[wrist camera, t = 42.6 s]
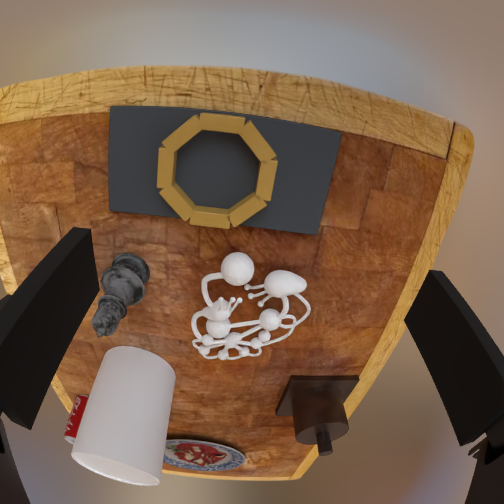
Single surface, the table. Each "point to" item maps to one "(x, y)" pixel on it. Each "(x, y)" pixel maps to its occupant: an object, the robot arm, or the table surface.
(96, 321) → the chess bishop
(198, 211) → the ring
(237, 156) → the mat
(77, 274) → the robot arm
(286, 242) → the table surface
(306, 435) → the stand
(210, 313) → the tangled rod sculpture
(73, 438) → the soda can
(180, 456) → the ceramic plate
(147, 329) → the table surface
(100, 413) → the canister
